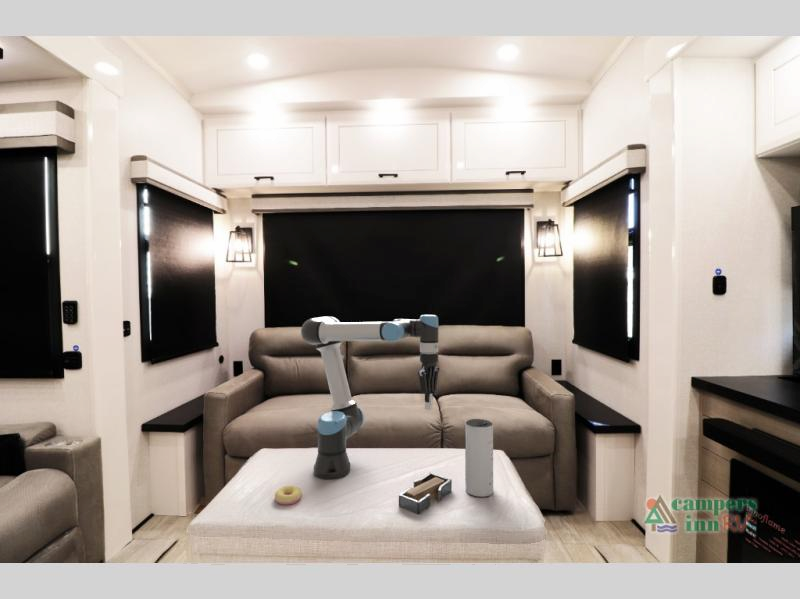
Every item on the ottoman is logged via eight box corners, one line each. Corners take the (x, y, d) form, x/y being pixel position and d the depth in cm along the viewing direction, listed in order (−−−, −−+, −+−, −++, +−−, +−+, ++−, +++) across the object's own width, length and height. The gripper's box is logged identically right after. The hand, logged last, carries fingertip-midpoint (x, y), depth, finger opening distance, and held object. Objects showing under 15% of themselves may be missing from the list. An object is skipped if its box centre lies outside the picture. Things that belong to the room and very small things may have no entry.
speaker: (476, 481, 160) (475, 415, 160) (499, 490, 153) (499, 421, 153) (459, 490, 153) (459, 421, 152) (483, 500, 146) (483, 428, 145)
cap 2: (413, 491, 152) (413, 481, 152) (427, 481, 160) (427, 471, 160) (440, 501, 145) (440, 490, 145) (454, 490, 153) (454, 480, 153)
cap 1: (398, 506, 142) (398, 494, 142) (410, 498, 148) (410, 487, 148) (419, 514, 137) (419, 502, 137) (430, 505, 143) (430, 494, 142)
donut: (297, 497, 153) (272, 498, 149) (299, 483, 154) (273, 485, 150) (303, 505, 144) (276, 507, 141) (304, 491, 145) (278, 492, 141)
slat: (406, 505, 143) (406, 491, 143) (436, 490, 154) (436, 477, 154) (414, 510, 140) (414, 495, 140) (444, 493, 151) (444, 480, 151)
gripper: (427, 355, 160) (427, 414, 161) (445, 351, 171) (444, 407, 171) (412, 353, 165) (412, 411, 165) (430, 349, 175) (429, 404, 176)
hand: (428, 409), depth 168 cm, fingers closed
